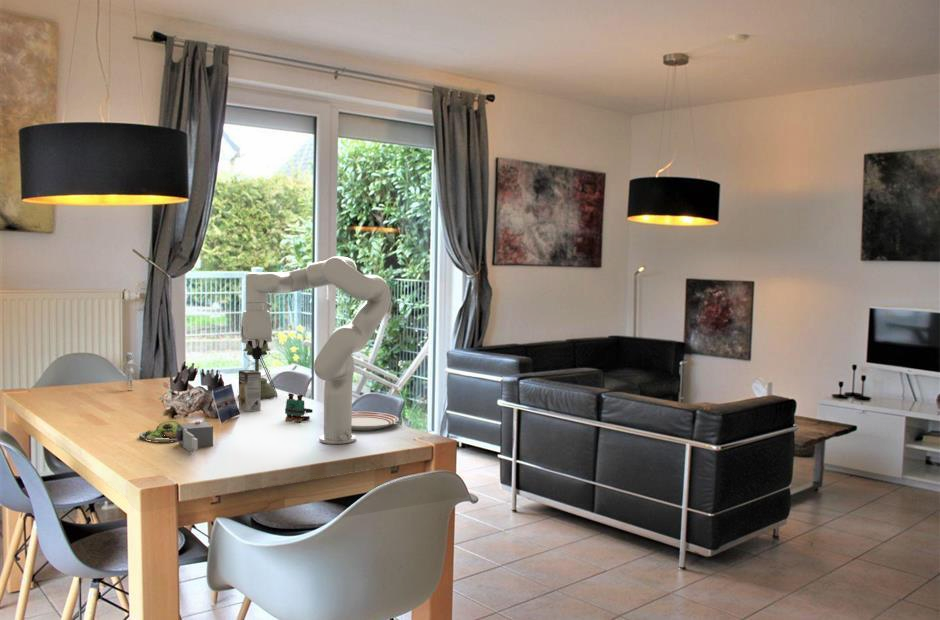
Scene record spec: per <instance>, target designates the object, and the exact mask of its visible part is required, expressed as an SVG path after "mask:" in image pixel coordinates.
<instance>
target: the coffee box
mask: <svg viewBox="0 0 940 620" xmlns="http://www.w3.org/2000/svg"><path fill="white" fill-rule="evenodd" d="M261 378H262V372H261V371H259V372H258V371H255V369H242V370H238V395H239V398H238V409H240V410H242V411H244V412H256V411H257V412H258V411H261V409H262V408H261V404H262V403H261V402H262V400H261Z"/></svg>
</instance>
